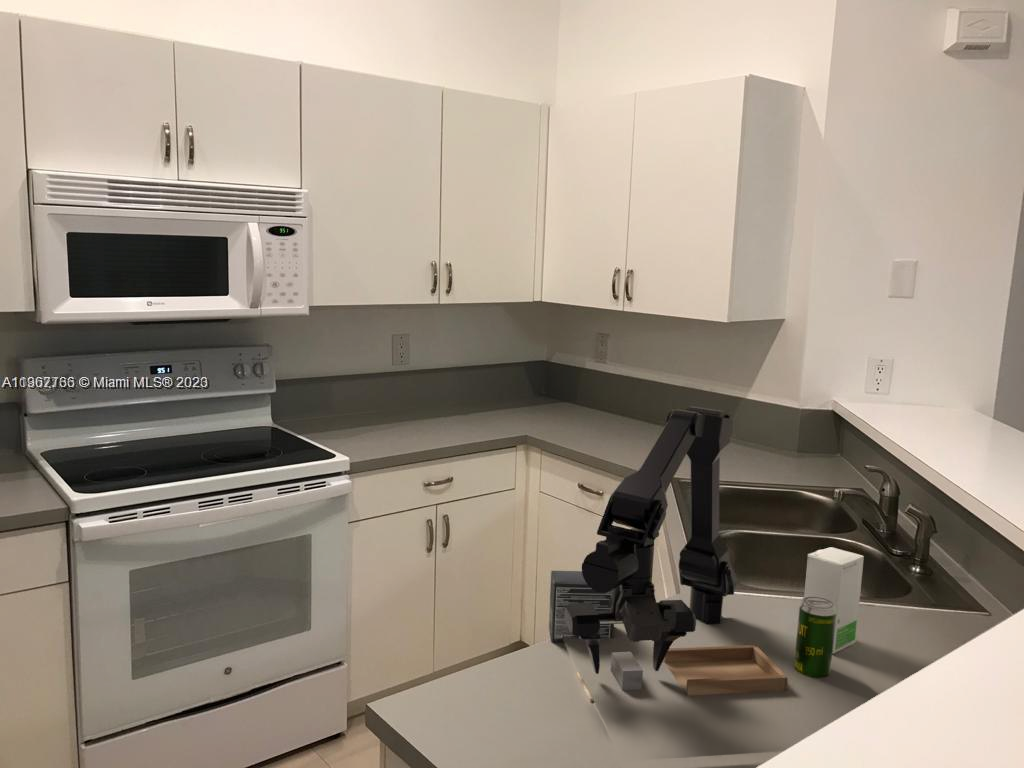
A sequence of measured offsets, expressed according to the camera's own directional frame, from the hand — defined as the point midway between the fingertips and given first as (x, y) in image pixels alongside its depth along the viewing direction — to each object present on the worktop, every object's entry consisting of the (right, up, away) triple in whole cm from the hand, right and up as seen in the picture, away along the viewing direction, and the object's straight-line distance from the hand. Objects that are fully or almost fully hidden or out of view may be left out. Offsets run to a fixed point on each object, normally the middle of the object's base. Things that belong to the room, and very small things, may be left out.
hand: (626, 671), depth 126 cm
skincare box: (+37, -1, +18) cm, 41 cm away
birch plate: (0, -3, 0) cm, 3 cm away
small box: (-6, 0, +17) cm, 18 cm away
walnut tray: (+15, -3, +3) cm, 16 cm away
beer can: (+30, -3, +6) cm, 31 cm away
